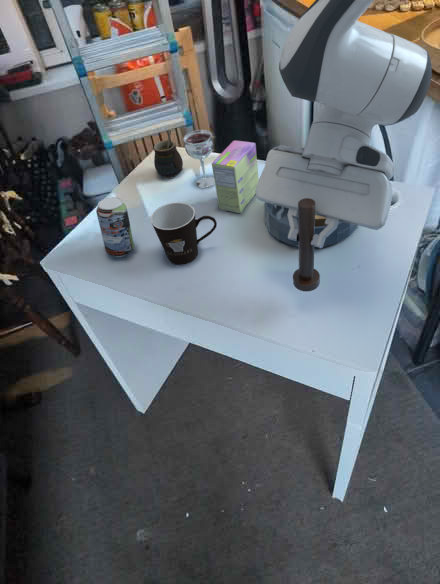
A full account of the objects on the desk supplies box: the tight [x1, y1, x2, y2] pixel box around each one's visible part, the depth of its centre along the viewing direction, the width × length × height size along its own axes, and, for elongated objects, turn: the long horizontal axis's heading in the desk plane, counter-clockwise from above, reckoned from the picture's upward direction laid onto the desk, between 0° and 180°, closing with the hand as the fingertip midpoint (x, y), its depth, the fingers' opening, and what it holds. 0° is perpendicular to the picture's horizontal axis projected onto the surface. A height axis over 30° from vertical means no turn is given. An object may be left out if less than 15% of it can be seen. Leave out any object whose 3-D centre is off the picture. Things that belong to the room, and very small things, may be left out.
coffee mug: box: [150, 201, 218, 266], centre depth 86 cm, size 12×9×10 cm
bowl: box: [263, 202, 358, 248], centre depth 90 cm, size 19×19×6 cm
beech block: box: [315, 215, 326, 227], centre depth 87 cm, size 4×4×4 cm
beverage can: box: [95, 196, 135, 258], centre depth 89 cm, size 6×7×12 cm
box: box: [211, 140, 260, 214], centre depth 97 cm, size 10×6×12 cm, turn 152°
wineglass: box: [182, 129, 215, 189], centre depth 103 cm, size 7×7×12 cm
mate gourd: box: [152, 129, 184, 179], centre depth 109 cm, size 7×8×10 cm
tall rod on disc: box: [292, 198, 321, 292], centre depth 67 cm, size 4×4×16 cm
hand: (304, 243), depth 66 cm, fingers closed on tall rod on disc, 2 cm apart
